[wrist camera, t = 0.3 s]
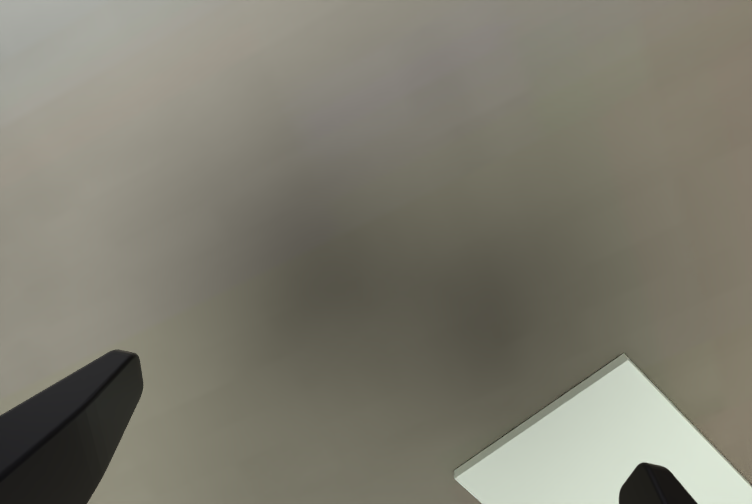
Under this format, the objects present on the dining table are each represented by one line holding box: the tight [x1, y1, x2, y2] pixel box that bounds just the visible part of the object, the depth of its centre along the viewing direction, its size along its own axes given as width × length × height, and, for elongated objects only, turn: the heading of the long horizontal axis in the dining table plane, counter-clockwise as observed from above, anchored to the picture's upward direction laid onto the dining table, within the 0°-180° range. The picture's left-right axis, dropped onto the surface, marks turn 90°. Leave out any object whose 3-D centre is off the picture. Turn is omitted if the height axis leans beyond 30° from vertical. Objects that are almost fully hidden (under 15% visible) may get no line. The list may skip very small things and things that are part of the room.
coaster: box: [454, 353, 752, 504], centre depth 27 cm, size 11×11×1 cm
